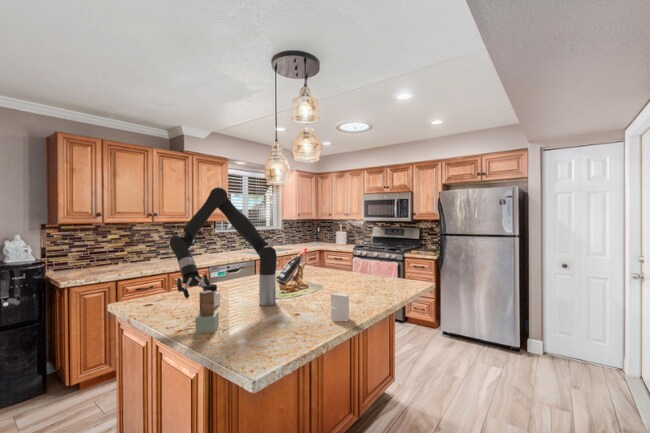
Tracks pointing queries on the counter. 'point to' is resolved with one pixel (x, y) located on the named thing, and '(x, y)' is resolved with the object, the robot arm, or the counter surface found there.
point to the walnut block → (206, 303)
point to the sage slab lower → (206, 328)
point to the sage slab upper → (207, 319)
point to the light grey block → (339, 307)
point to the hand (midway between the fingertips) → (197, 296)
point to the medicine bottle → (215, 294)
